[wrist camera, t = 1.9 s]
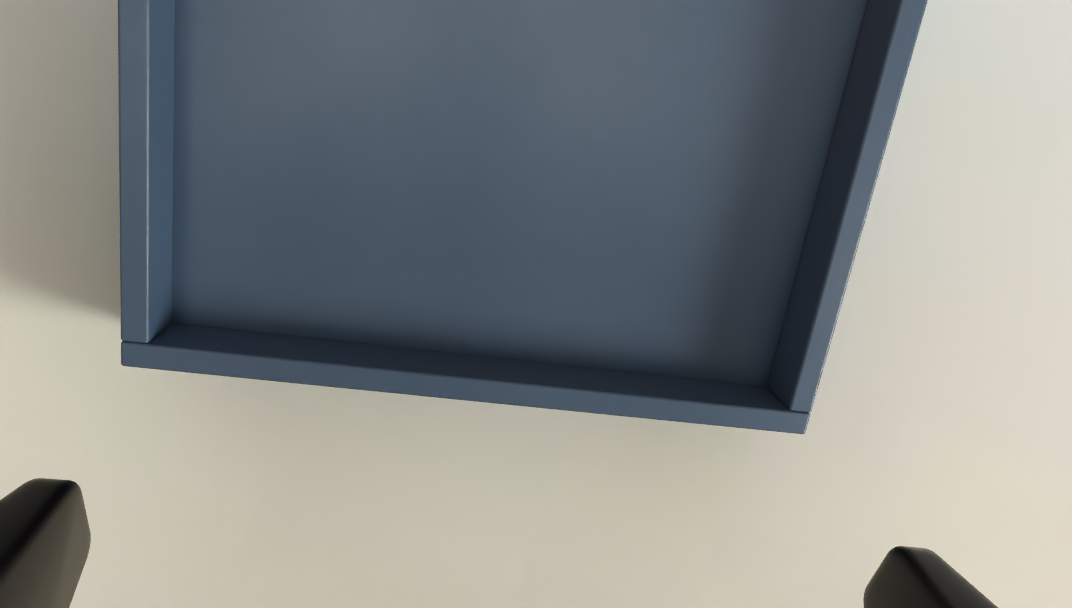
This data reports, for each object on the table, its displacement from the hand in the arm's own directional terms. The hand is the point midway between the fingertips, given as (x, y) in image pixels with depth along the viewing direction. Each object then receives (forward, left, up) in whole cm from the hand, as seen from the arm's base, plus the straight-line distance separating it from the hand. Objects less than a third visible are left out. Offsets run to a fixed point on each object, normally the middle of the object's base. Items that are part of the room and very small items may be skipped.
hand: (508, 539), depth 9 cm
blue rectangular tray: (+7, -4, -12) cm, 14 cm away
